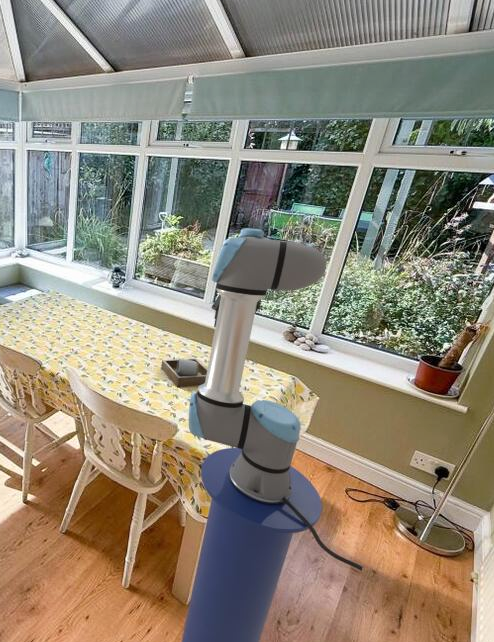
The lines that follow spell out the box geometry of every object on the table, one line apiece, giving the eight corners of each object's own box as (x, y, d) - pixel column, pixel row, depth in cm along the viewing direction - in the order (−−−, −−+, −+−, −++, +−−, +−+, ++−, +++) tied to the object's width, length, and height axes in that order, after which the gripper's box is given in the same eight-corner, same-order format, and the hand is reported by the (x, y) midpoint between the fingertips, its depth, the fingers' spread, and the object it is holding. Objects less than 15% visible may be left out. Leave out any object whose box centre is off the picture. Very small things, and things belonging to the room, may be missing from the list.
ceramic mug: (197, 381, 170) (199, 365, 167) (176, 379, 171) (179, 363, 168) (194, 369, 180) (196, 354, 177) (174, 367, 181) (177, 351, 178)
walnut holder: (213, 385, 169) (215, 375, 167) (176, 388, 166) (178, 377, 164) (194, 367, 184) (195, 358, 182) (160, 369, 181) (162, 360, 179)
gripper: (263, 269, 156) (251, 321, 162) (208, 270, 148) (198, 325, 155) (279, 274, 149) (265, 328, 156) (222, 275, 141) (210, 332, 148)
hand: (231, 327), depth 155 cm, fingers open, 13 cm apart
